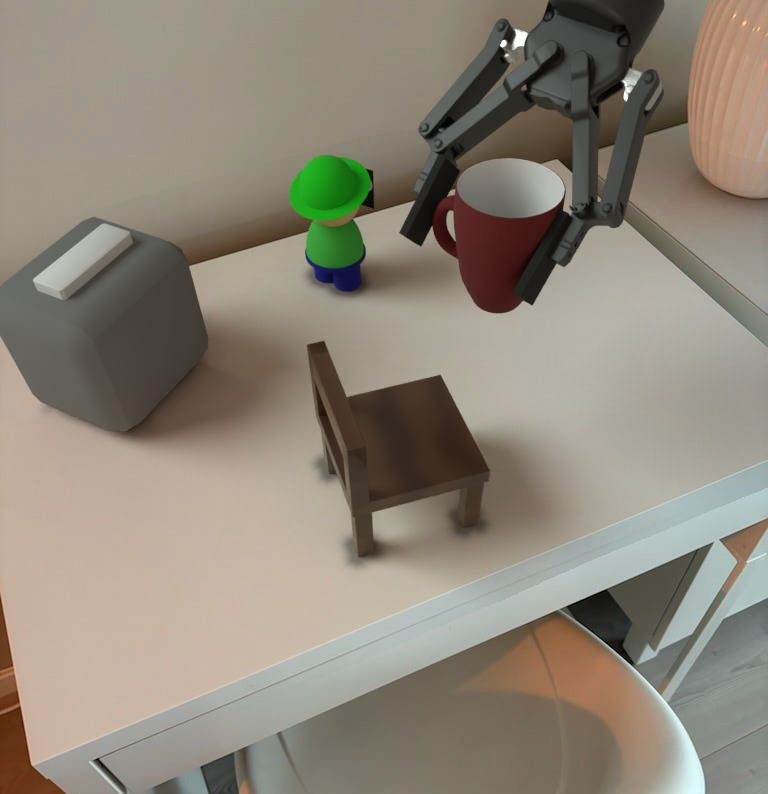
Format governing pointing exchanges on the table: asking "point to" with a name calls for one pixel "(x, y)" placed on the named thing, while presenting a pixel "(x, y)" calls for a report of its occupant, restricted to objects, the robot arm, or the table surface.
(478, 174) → the mug
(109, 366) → the alarm clock
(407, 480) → the chair
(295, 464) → the table surface
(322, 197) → the toy
